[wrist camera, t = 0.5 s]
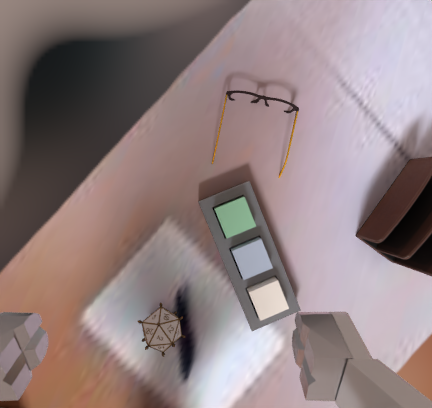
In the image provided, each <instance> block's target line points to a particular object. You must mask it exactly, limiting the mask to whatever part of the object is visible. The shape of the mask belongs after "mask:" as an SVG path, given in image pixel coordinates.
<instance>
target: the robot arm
mask: <svg viewBox="0 0 432 408" xmlns="http://www.w3.org/2000/svg"><path fill="white" fill-rule="evenodd" d="M41 323H42V320H41V317H40V315H39V314H37V313H12V312H3V313H2V312H0V401H12V400H19V399H20V397H21V395H22V394H23V392H24V390H25V389H26V387H27V385H28V384H29V382H30V380H31V379H32V373H31V370H32V369H34V368H35V367H36V366H38V365H39V364H40V363H41V362H42V360H43V358H44V356H45V354H46V351H47V347H48V336H47V333H46V331H45V330H43V329H42V328H41V327H39V326H40V324H41ZM295 324H296V327H297V328H296V329H295V330H294V331H293V336H292V347H293V354H294V358H295V362H296V364H297V365H298V366H299V367H300V368H301V372H300V381H301V385H302V388H303V392H304V396H305V399H306V400H314V401H336V402H335V403H336V404H337V406H338V407H339V408H432V401H431V400H429V399H428V398H427V397H425V396H424V395H423V394H422V393H420V392H419V391H418V390H417V389H415V388H414V387H413V386H411V385H410V384H409V383H408V382H406V381H405V380H404V379H402V378H401V377H400V376H399V375H397V374H396V373H395V372H394V371H392V370H391V369H390V368H388V367H387V366H386V365H385V364H383V363H382V362H381V361H380V360H378V359H372V357H371V355H370V353H369V351H368V349H367V348H366V346H365V344H364V342H363V340H362V338H361V336H360V335H359V333H358V331H357V329H356V327H355V325H354V323H353V322H352V320H351V318H350V316H349V314H348V313H346V312H297V314H296V317H295Z"/></svg>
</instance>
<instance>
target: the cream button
mask: <svg viewBox="0 0 432 408" xmlns="http://www.w3.org/2000/svg"><path fill="white" fill-rule="evenodd" d="M247 290H248V293H249V295H250V298H251V300H252V302H253V305H254V307H255V310H256V312H257V315H258V317H259V319H260V321H261V320H264V319H266V318H268V317H271V316H273V315H275V314H278V313H280V312H282V311H285V310H287V309H289V307H288V304H287V302H286V299H285V297H284V294H283V292H282V289H281V287H280V284H279V282H278V280H277V279H276V278H275V276H273V277H270V278H268V279H266V280H263V281H261V282H259V283H256V284H254V285H252V286H249V287H247Z"/></svg>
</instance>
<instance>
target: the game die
mask: <svg viewBox="0 0 432 408" xmlns="http://www.w3.org/2000/svg"><path fill="white" fill-rule="evenodd" d="M176 314H177V312H175V313H172V312H170V311H168V310H166V309H165V308H163V307H162V303H160V308H159V309H157V310H156V311H155V312H154V313H152V314H151V315H150V316H149V317H148V318H146V319H145V320H144V321H143V322H142V321H140V320H139V321H138V322H139V323H142V327H143V332H144V338H143V339H142V341H143V342H144V341H146V343H147V346H146V347H145V350H146V349H148V347H151V348H154V349H156V350H159V351H161V352H162V356H163V357H164V355H165V353H164V351H166V350H167V349H168V348H169V347H170V346H171V345H172V347H175V344H174V343H175V342H176V341H177V340H178V339H179V338H180V337H182V338H184V337H185V336H184V335H182V334H181V325H180V320H181V319H182V318H183V317H180V318H178V317H177V316H176Z"/></svg>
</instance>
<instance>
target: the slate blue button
mask: <svg viewBox="0 0 432 408" xmlns="http://www.w3.org/2000/svg"><path fill="white" fill-rule="evenodd" d="M230 249H231V251H232V254H233V256H234V258H235V261H236V263H237V266H238V268H239V271H240V273H241V276H242V278H243V280H245V279H248V278H250V277H253V276H255V275H257V274H260V273H262V272H264V271H267V270H269V269H272V268H273V267H272V264H271V262H270V259H269V257H268V254H267V252H266V249H265V247H264V244H263V242H262V239H261V238H259V237H255V238H253V239H251V240H248V241H246V242H243V243H241V244H239V245H236V246H234V247H231V248H230Z"/></svg>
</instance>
